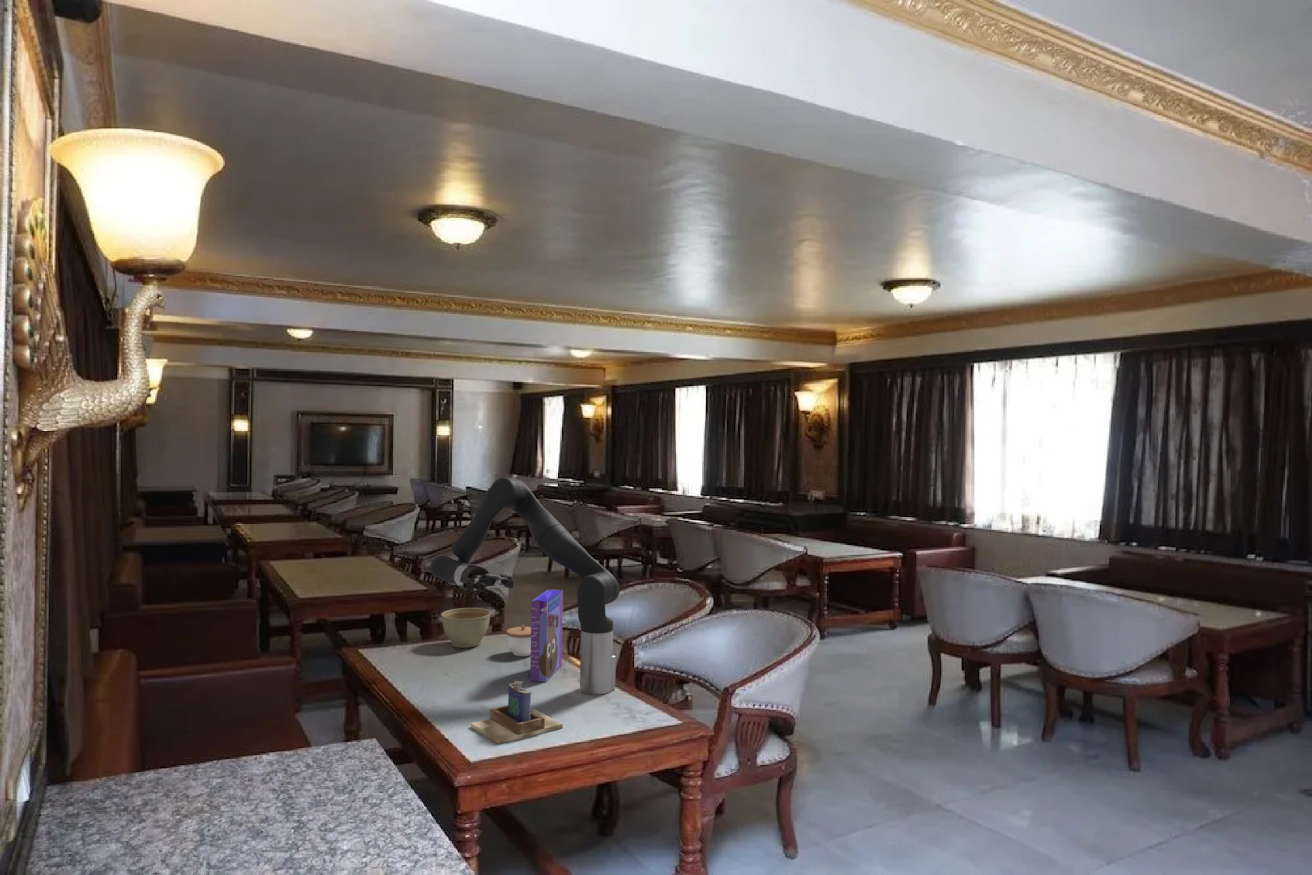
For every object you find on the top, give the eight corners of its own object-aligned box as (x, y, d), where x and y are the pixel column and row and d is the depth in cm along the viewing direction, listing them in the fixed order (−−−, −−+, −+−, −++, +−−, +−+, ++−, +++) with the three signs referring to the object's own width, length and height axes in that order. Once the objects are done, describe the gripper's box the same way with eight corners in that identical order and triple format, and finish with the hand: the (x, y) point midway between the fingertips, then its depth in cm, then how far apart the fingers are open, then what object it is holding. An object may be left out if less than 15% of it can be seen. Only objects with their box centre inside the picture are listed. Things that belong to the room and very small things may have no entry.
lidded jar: (542, 656, 278) (543, 627, 277) (509, 659, 274) (510, 630, 274) (534, 648, 288) (535, 620, 287) (503, 651, 284) (503, 622, 283)
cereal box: (545, 682, 251) (547, 600, 250) (530, 681, 251) (531, 599, 251) (561, 665, 268) (562, 589, 267) (547, 664, 269) (548, 588, 268)
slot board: (533, 712, 225) (533, 699, 225) (562, 727, 214) (562, 714, 214) (470, 726, 213) (471, 713, 213) (498, 744, 202) (498, 729, 202)
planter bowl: (439, 640, 296) (440, 609, 296) (487, 637, 301) (487, 606, 301) (442, 652, 281) (443, 619, 280) (492, 649, 286) (493, 616, 285)
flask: (532, 727, 211) (532, 684, 211) (521, 730, 209) (522, 686, 209) (514, 717, 218) (514, 675, 218) (504, 719, 216) (504, 677, 216)
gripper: (449, 567, 248) (475, 575, 235) (493, 562, 257) (520, 570, 244) (449, 592, 248) (474, 602, 235) (493, 587, 257) (520, 596, 244)
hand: (498, 586), depth 240 cm, fingers open, 8 cm apart
